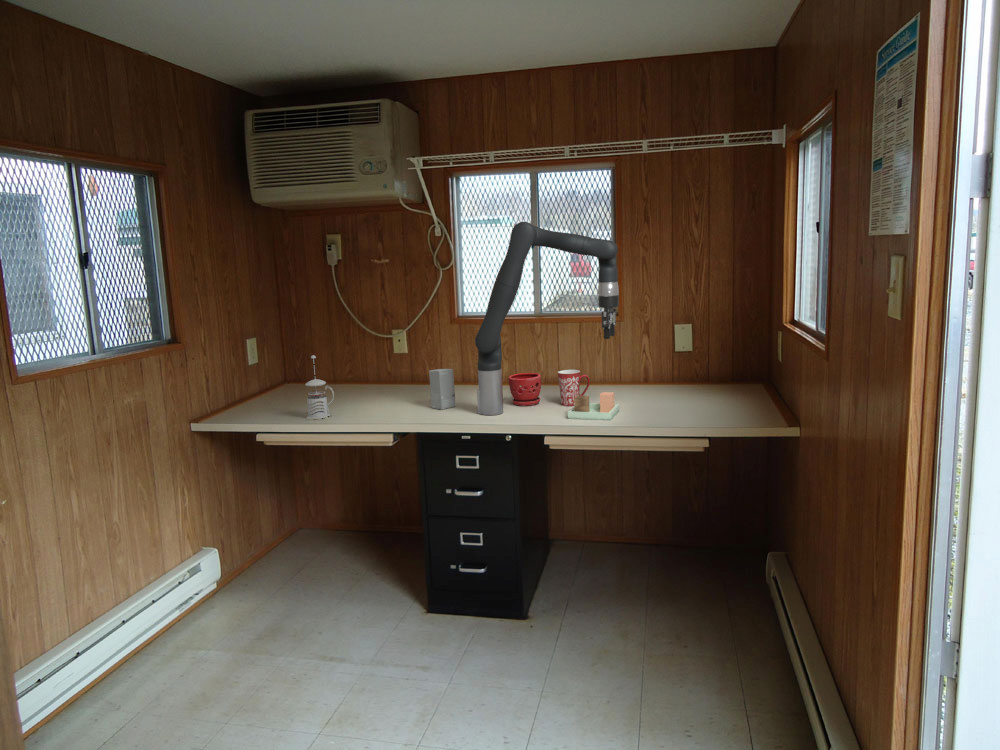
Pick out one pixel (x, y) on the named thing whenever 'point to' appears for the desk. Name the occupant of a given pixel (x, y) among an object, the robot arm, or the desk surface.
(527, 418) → the desk surface
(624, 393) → the desk surface
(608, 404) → the terracotta block
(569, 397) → the mug
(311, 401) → the french press
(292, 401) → the desk surface
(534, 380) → the plant pot
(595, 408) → the tray
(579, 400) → the walnut block
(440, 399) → the skincare box
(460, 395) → the desk surface
